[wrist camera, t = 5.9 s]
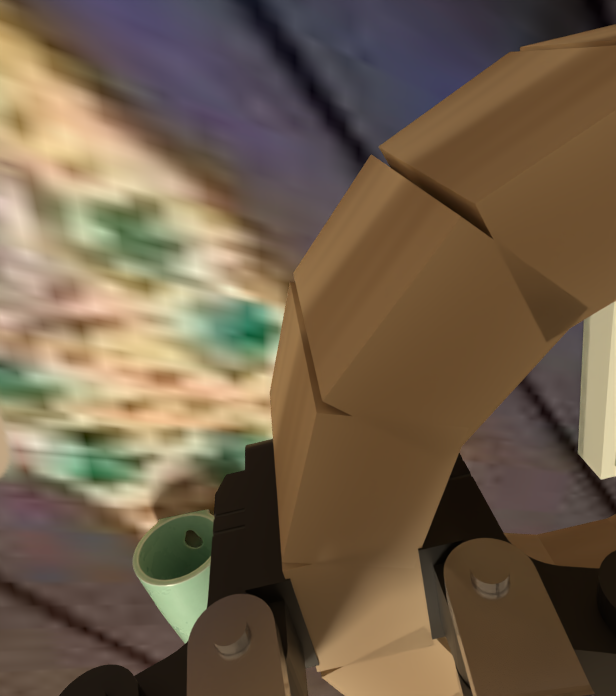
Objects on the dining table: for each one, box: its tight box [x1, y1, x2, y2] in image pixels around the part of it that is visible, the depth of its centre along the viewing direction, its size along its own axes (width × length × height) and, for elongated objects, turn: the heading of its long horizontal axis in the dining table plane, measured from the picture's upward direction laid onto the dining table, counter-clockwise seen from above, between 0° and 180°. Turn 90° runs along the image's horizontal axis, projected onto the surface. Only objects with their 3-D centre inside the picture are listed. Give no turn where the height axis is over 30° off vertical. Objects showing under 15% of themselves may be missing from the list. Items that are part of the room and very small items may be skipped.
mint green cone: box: [133, 509, 215, 644], centre depth 37 cm, size 5×6×27 cm
